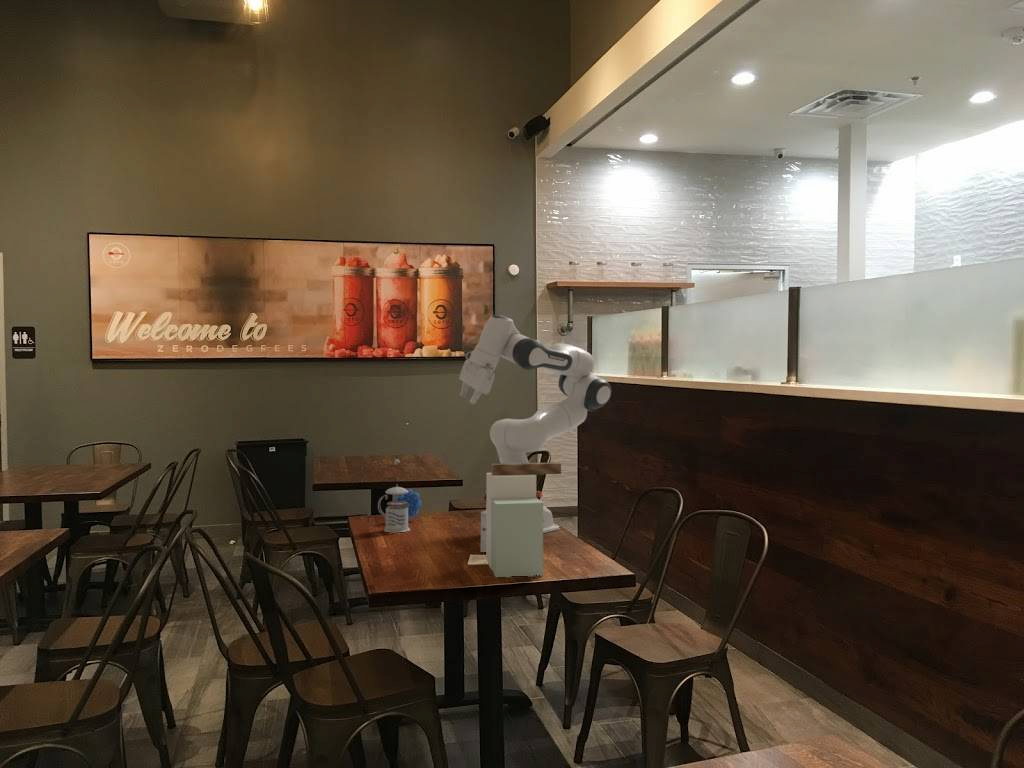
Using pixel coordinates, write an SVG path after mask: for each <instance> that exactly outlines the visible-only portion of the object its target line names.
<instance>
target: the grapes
mask: <svg viewBox="0 0 1024 768" xmlns="http://www.w3.org/2000/svg"><path fill="white" fill-rule="evenodd" d="M407 490H408V491H409V492H408V493H407V494H396V498H394V499H392V501H394V502H395V501H398V502H401V501H403V502H407V504H406V505H403V506H407V507H408V522H409V521H411V518H412V517H416V516H417V515H418V514H419V508H421V506H422V504H423V502H422V500H421V499H420V497H421V494H420V493H419V492H418V491H417V492H414V491H413V489H412V488H408V489H407ZM397 509H399V508H397ZM394 514H395V513H393V514H392V515H394ZM403 516H404V515H403ZM397 517H401V516H397ZM396 520H399V519H396ZM403 520H404V519H403ZM399 521H400V520H399Z"/></svg>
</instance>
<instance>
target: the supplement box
mask: <svg viewBox="0 0 1024 768" xmlns="http://www.w3.org/2000/svg"><path fill="white" fill-rule="evenodd" d="M481 552H483V553H484V552H486V509H485V510H484V511H481V512H480V553H481Z"/></svg>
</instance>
